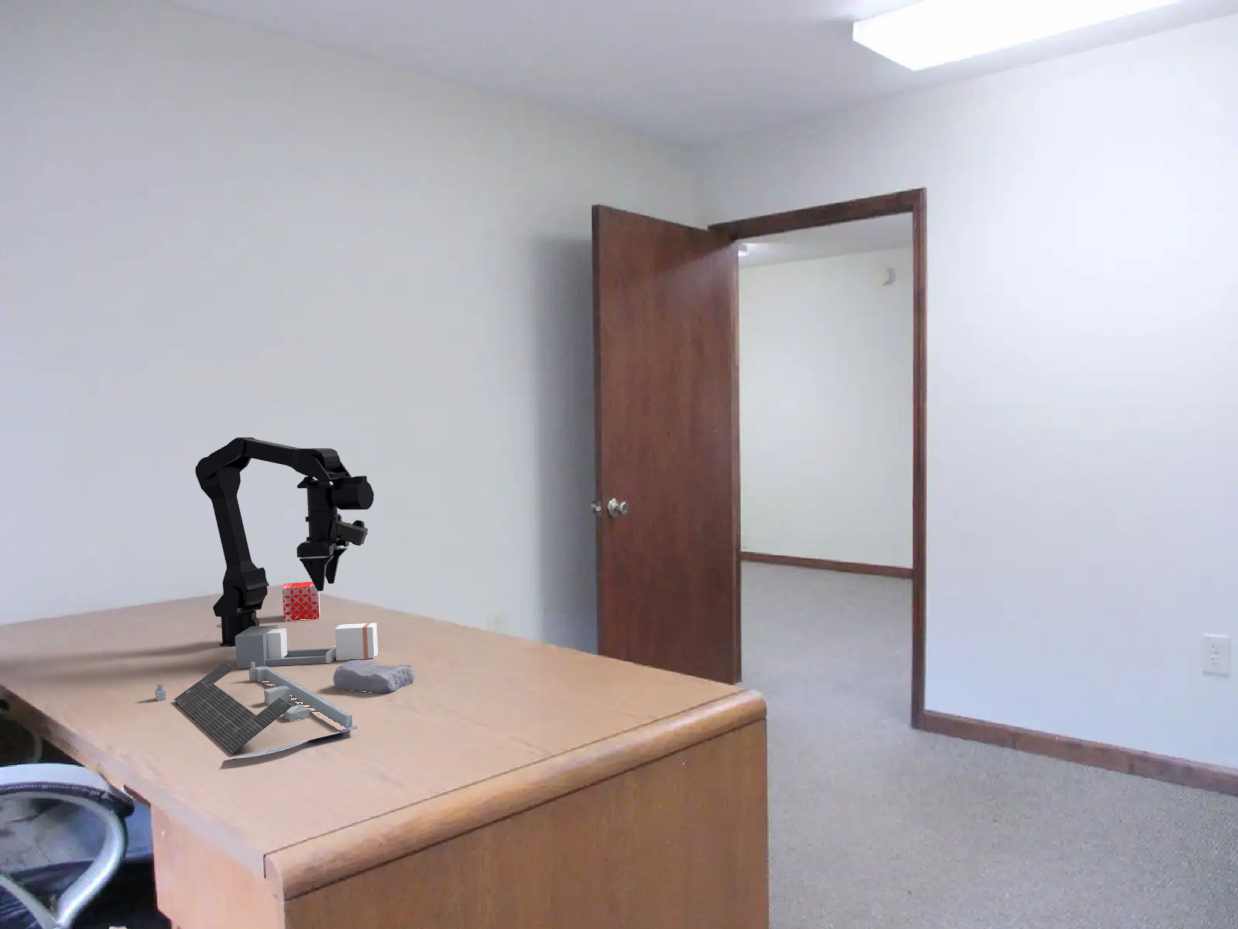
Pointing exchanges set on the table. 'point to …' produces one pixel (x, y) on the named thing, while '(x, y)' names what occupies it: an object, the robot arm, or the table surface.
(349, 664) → the stone block
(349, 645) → the white banded block
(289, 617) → the red patterned cube
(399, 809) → the table surface
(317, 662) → the grey frame stand
